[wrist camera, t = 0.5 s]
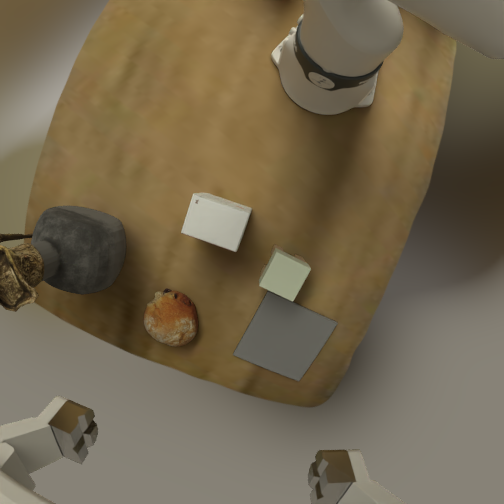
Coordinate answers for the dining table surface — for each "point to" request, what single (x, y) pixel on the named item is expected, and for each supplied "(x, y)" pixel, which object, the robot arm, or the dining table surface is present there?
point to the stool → (284, 273)
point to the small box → (216, 220)
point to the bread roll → (171, 318)
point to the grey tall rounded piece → (62, 255)
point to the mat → (284, 336)
